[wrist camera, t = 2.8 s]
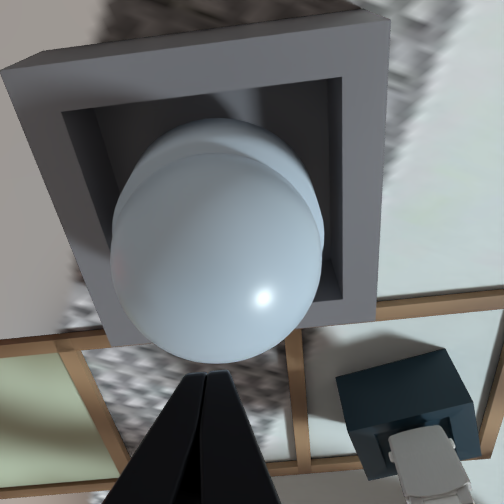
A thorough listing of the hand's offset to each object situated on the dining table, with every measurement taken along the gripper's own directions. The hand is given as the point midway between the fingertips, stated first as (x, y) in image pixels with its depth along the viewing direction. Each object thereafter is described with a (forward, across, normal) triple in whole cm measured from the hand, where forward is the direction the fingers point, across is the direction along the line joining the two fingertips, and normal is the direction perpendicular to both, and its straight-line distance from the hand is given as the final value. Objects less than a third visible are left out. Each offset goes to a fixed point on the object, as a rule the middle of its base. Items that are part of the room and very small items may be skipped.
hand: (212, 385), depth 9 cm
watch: (+10, -7, +13) cm, 18 cm away
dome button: (+7, 0, 0) cm, 7 cm away
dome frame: (+10, 0, 0) cm, 10 cm away
